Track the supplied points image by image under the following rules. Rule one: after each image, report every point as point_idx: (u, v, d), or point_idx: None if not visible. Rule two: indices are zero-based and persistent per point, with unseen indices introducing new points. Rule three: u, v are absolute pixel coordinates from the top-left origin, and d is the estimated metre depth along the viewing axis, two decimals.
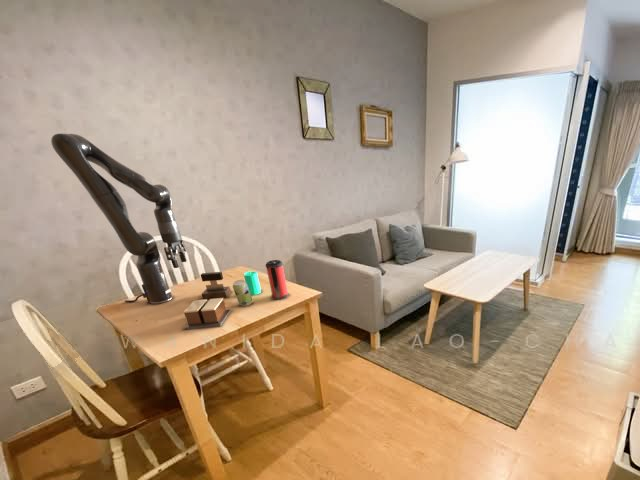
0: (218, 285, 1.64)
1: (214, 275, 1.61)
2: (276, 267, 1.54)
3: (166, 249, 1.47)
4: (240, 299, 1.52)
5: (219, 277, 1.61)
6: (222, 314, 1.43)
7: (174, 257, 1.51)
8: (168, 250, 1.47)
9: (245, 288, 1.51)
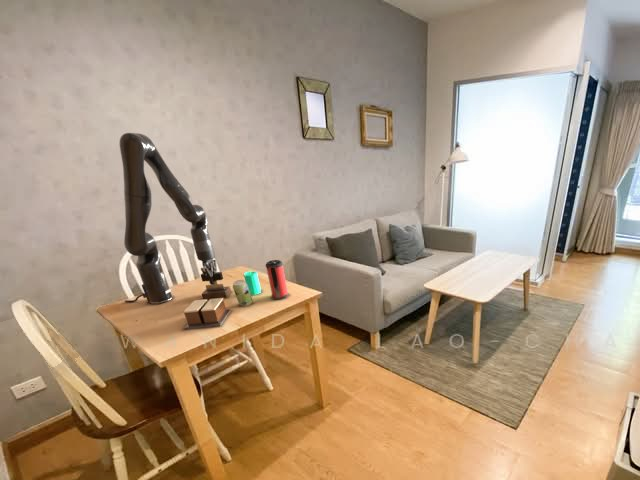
0: (218, 285, 1.64)
1: (214, 275, 1.61)
2: (276, 267, 1.54)
3: (203, 270, 1.54)
4: (240, 299, 1.52)
5: (219, 277, 1.61)
6: (222, 314, 1.43)
7: (211, 275, 1.59)
8: (205, 271, 1.54)
9: (245, 288, 1.51)
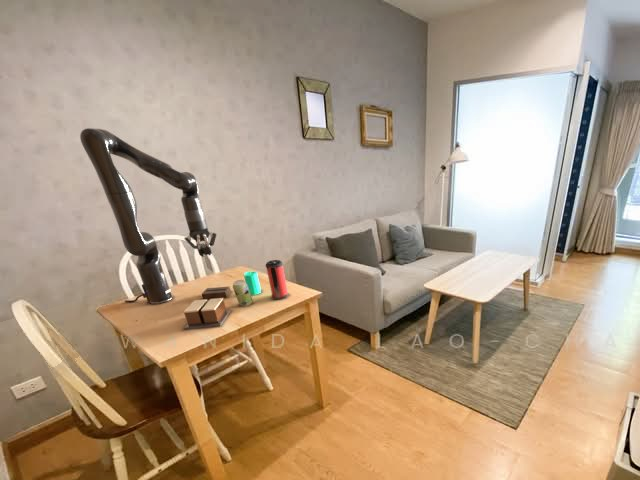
0: (207, 259, 1.57)
1: (202, 248, 1.54)
2: (276, 267, 1.54)
3: None
4: (240, 299, 1.52)
5: (203, 251, 1.53)
6: (222, 314, 1.43)
7: (197, 247, 1.53)
8: None
9: (245, 288, 1.51)
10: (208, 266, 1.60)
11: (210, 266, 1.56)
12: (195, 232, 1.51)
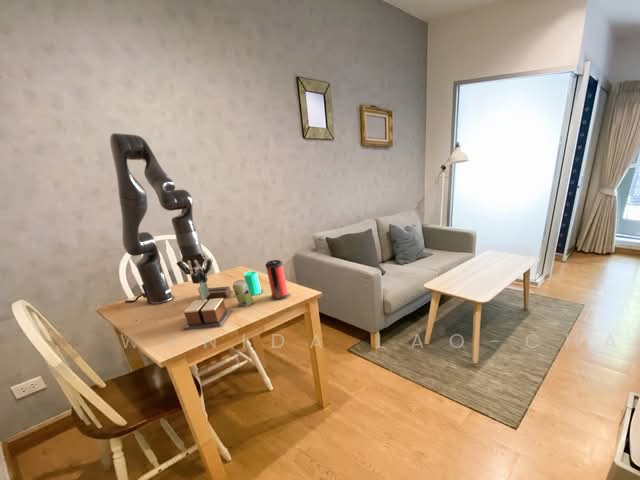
0: None
1: None
2: (276, 267, 1.54)
3: None
4: (240, 299, 1.52)
5: None
6: (222, 314, 1.43)
7: (190, 273, 1.35)
8: None
9: (245, 288, 1.51)
10: None
11: (200, 296, 1.37)
12: (187, 257, 1.32)
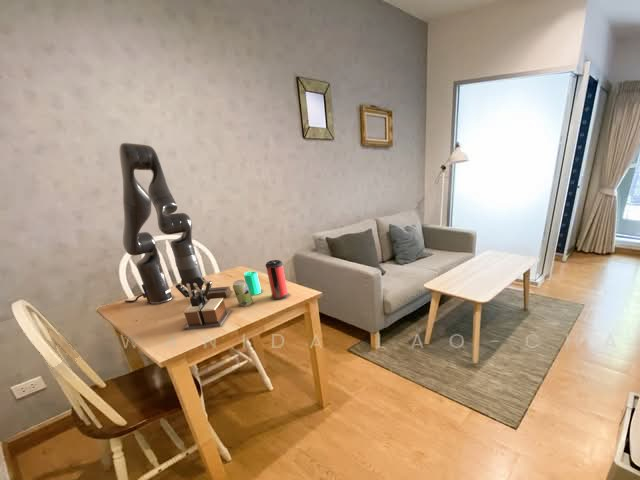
0: None
1: None
2: (276, 267, 1.54)
3: None
4: (240, 299, 1.52)
5: None
6: (222, 314, 1.43)
7: None
8: None
9: (245, 288, 1.51)
10: None
11: (199, 318, 1.35)
12: (186, 280, 1.30)
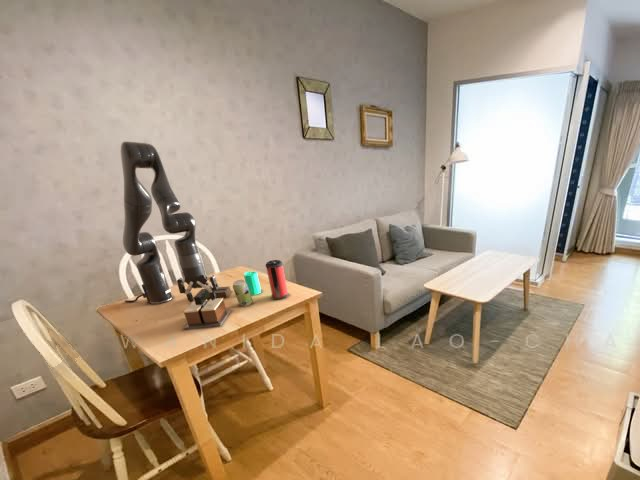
0: None
1: None
2: (276, 267, 1.54)
3: None
4: (240, 299, 1.52)
5: None
6: (222, 314, 1.43)
7: (185, 291, 1.35)
8: None
9: (245, 288, 1.51)
10: None
11: None
12: (189, 278, 1.33)
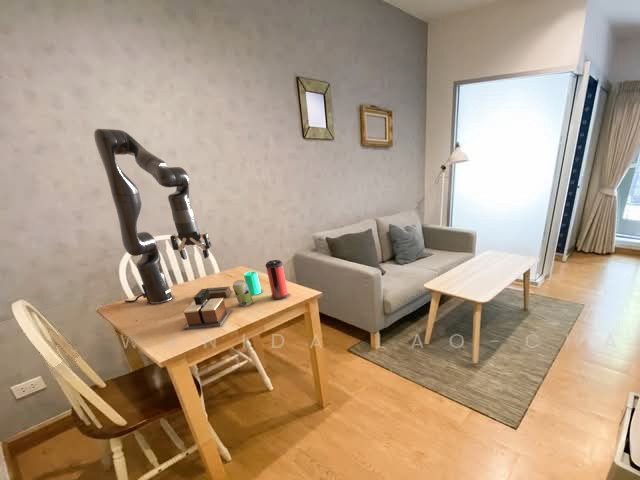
0: None
1: None
2: (276, 267, 1.54)
3: None
4: (240, 299, 1.52)
5: None
6: (222, 314, 1.43)
7: (178, 248, 1.37)
8: None
9: (245, 288, 1.51)
10: None
11: None
12: (183, 234, 1.34)
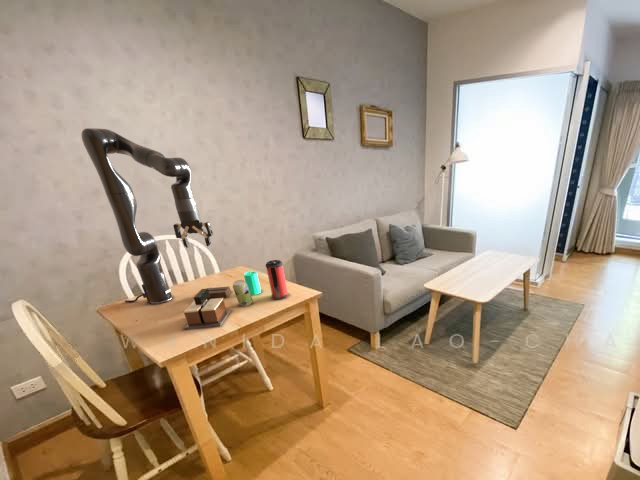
0: None
1: None
2: (276, 267, 1.54)
3: None
4: (240, 299, 1.52)
5: None
6: (222, 314, 1.43)
7: (181, 236, 1.42)
8: None
9: (245, 288, 1.51)
10: None
11: None
12: (185, 223, 1.40)
